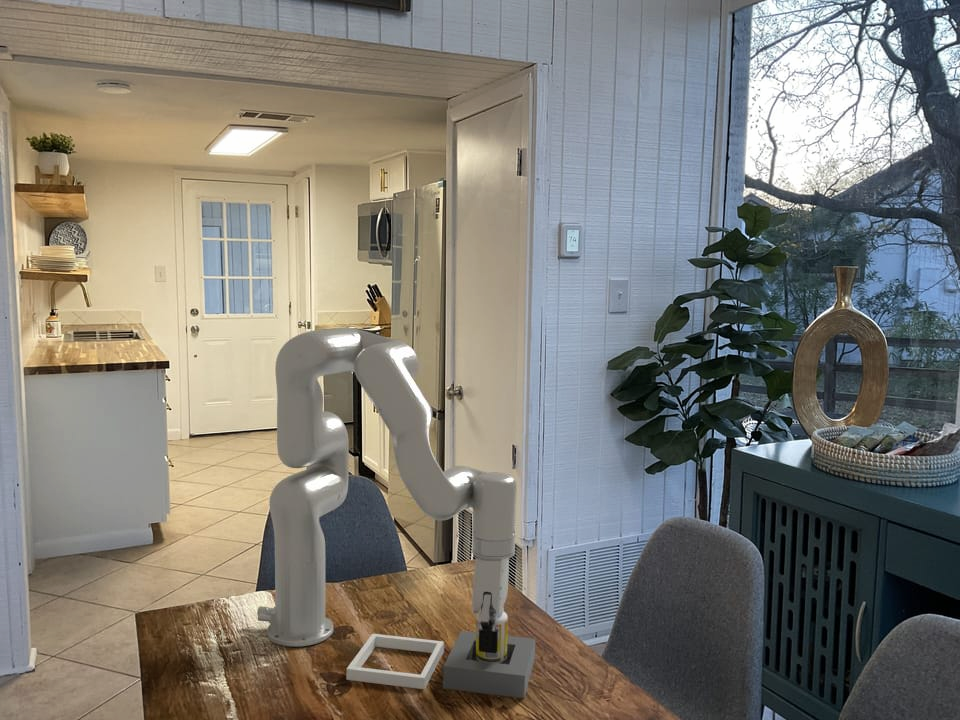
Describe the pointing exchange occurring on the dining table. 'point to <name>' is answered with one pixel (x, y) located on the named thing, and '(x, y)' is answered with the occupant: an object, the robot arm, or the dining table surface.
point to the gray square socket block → (489, 667)
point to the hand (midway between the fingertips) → (491, 642)
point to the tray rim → (392, 677)
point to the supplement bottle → (502, 639)
